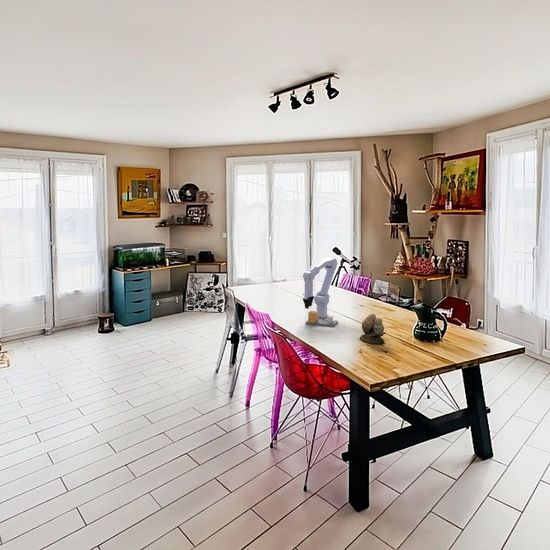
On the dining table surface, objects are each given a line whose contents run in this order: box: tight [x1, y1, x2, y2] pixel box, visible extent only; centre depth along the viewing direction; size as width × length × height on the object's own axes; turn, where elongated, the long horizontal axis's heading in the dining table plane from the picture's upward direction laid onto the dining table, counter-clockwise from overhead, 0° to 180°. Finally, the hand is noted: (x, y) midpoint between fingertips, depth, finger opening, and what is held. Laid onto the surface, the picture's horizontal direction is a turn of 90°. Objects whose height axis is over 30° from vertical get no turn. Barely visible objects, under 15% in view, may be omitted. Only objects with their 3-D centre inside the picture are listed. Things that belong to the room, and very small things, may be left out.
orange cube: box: [307, 310, 319, 322], centre depth 303 cm, size 6×6×6 cm
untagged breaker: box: [327, 315, 334, 323], centre depth 299 cm, size 3×3×4 cm
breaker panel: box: [305, 318, 339, 328], centre depth 301 cm, size 12×20×2 cm, turn 70°
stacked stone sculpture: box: [359, 313, 387, 345], centre depth 260 cm, size 18×12×17 cm, turn 34°
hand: (308, 307), depth 308 cm, fingers open, 7 cm apart
